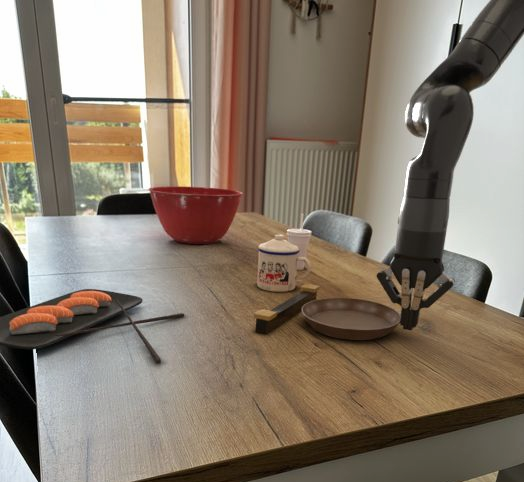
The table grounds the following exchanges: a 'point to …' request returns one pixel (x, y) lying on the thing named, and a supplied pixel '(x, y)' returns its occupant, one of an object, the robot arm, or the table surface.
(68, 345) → the table surface
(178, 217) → the mixing bowl
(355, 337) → the plant saucer
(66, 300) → the sushi plate
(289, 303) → the rail
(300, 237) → the smoothie
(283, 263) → the teacup with lid
